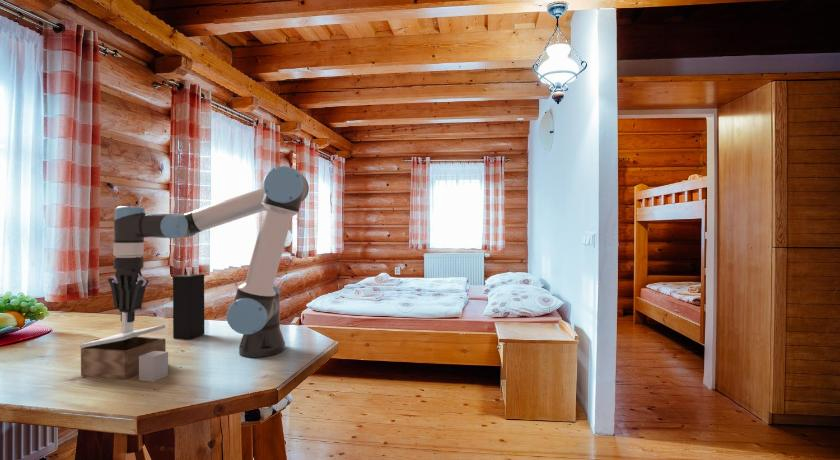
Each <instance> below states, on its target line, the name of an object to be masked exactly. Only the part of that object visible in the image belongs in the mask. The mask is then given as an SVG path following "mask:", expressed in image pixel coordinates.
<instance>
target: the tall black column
mask: <svg viewBox="0 0 840 460" xmlns="http://www.w3.org/2000/svg"><path fill="white" fill-rule="evenodd" d="M185 269H186V270H185V271H186V273H185V274H179V275H178V274H177V275H173V276H172V322H173V323H172V326H173V327H172V329H173V330H172V333H173V334H172V337H173V339H178V340H179V339H181V340H193V339H195V338H198V337H201V336H203V335H205V274H203V273H192V270H193V267H188V266H185Z"/></svg>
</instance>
